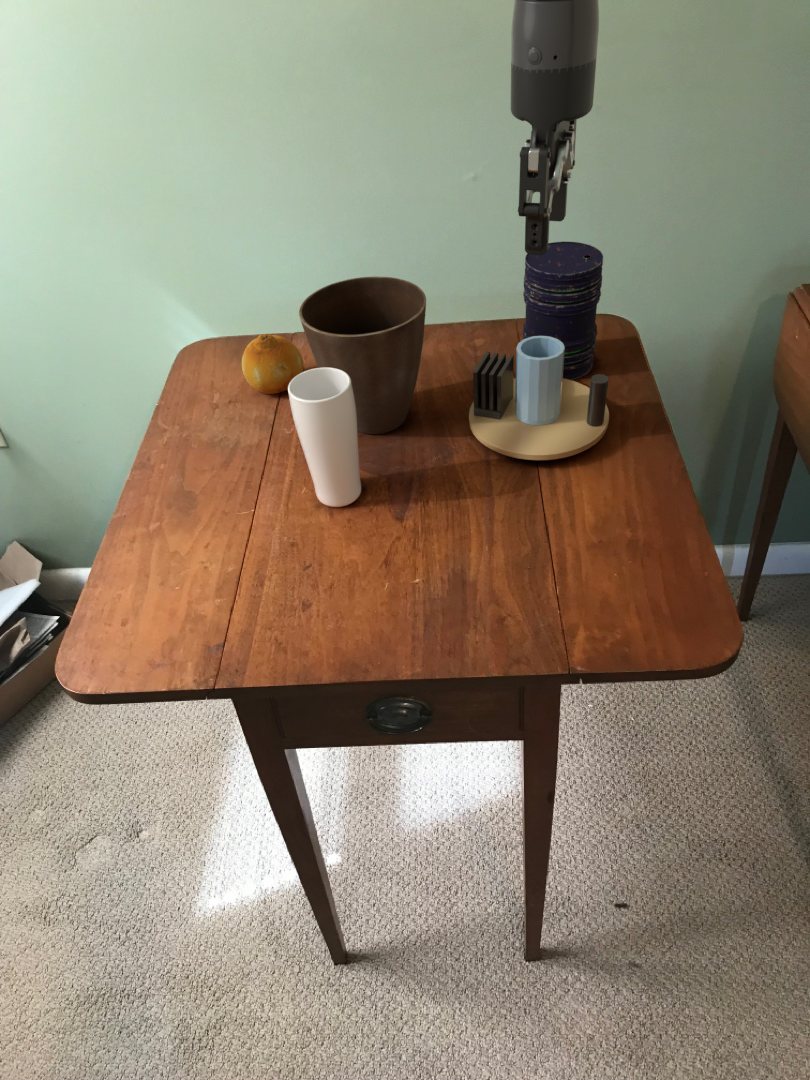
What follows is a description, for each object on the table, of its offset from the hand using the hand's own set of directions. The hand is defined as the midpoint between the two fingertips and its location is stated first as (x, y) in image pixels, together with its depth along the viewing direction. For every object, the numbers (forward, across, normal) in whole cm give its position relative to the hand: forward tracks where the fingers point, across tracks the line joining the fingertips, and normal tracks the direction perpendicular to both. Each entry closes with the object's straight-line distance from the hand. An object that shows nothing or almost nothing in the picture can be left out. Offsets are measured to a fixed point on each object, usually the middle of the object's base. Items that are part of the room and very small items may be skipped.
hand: (545, 235), depth 79 cm
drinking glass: (+24, -18, +19) cm, 36 cm away
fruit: (+24, +2, +38) cm, 45 cm away
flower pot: (+24, -3, +21) cm, 32 cm away
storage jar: (+24, +16, +1) cm, 29 cm away
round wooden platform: (+23, 0, 0) cm, 23 cm away
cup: (+22, 0, 0) cm, 22 cm away
